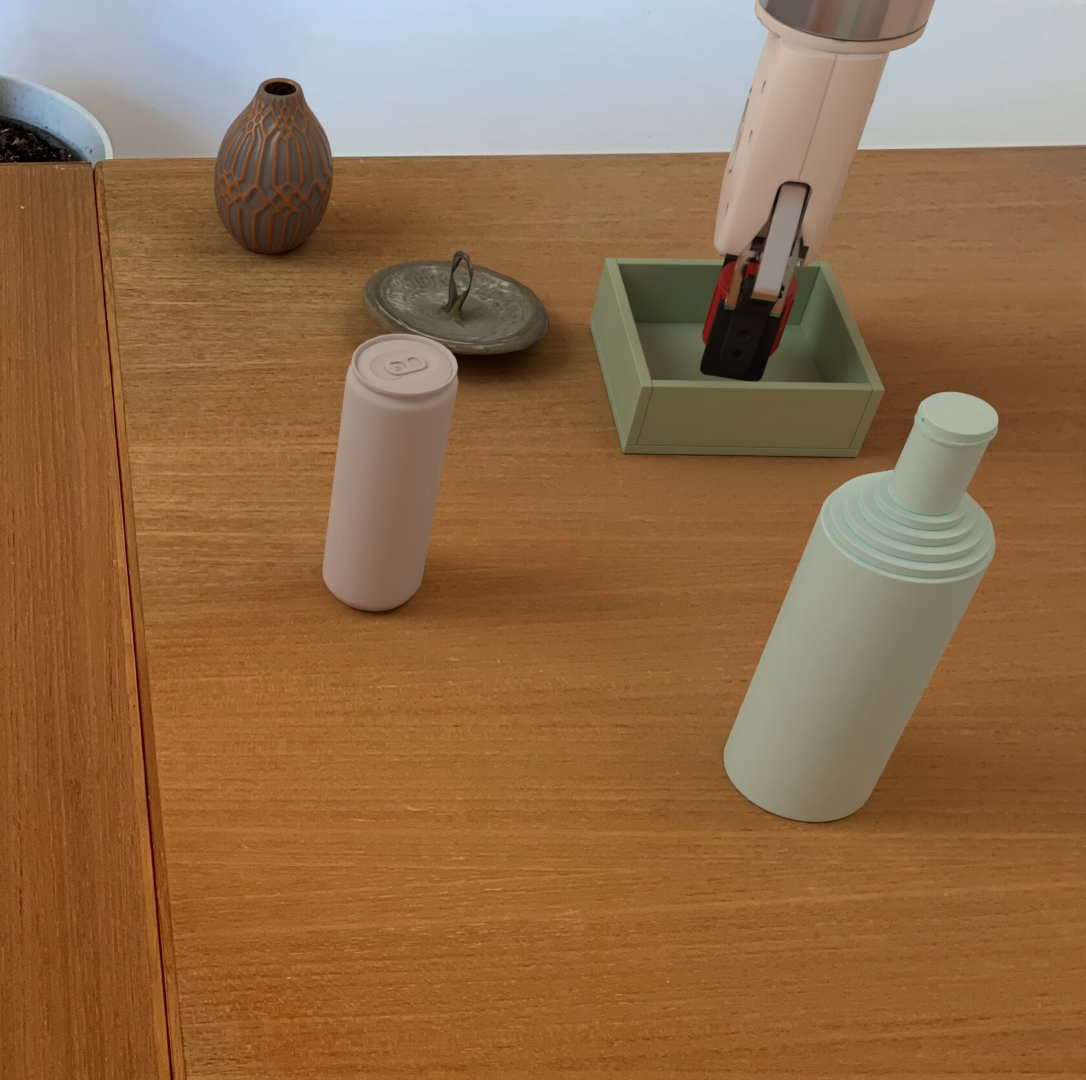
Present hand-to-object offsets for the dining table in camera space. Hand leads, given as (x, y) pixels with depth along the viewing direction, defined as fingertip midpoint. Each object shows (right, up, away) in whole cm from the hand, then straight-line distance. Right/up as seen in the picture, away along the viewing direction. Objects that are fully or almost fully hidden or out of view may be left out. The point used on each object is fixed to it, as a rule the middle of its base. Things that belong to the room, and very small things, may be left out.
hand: (733, 348), depth 90 cm
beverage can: (-21, -15, -8) cm, 26 cm away
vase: (-24, +11, +12) cm, 29 cm away
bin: (0, -1, +2) cm, 2 cm away
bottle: (-3, -24, -16) cm, 29 cm away
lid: (-14, +3, +5) cm, 15 cm away
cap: (0, 0, 0) cm, 1 cm away
